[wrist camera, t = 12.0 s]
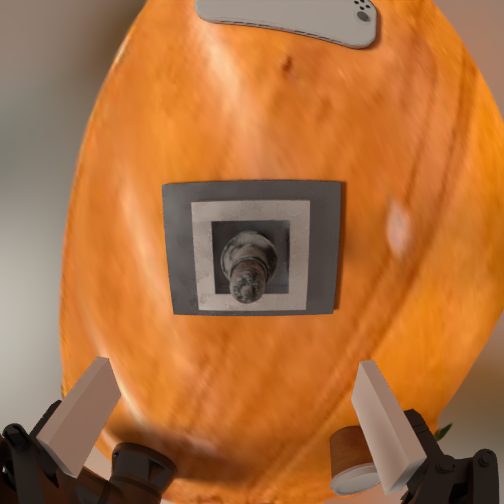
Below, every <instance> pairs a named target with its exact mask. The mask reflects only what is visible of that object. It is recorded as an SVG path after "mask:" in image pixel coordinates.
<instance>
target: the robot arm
mask: <svg viewBox="0 0 504 504" xmlns="http://www.w3.org/2000/svg"><path fill="white" fill-rule="evenodd" d="M120 397H121V392H120V390H119V387H118V384H117V382H116V379H115V376H114V373H113V370H112V367H111V364H110V361H109V358H104V357H96V359H95V360H94V361H93V362H92V364H91V365H90V366H89V367H88V369H87V370H86V371H85V372H84V374H83V375H82V376H81V378H80V379H79V380H78V381H77V383H76V384H75V385H74V387H73V388H72V389H71V390H70V392H69V393H68V394H67V396H66V397H65V398H64V400H63V401H61V400H58V401H56V402H55V403H53V404H52V405H51V406H50V407H49V408H48V410H47V411H46V413H45V414H44V415H43V418H41V419H40V420H39V422H38V423H37V424H36V426H35V427H34V428H33V430H32V431H31V432H30V434H29V435H28V434H27V433H26V431H25V430H24V428H23V427H22V426H21V425H20V424H17V423H16V424H15V423H13V424H10V425H8V426H6V427H5V429H4V430H3V434H2V435H3V436H4V438H3V437H2V436H1V434H0V504H160V502H161V498H162V495H163V494H164V492H165V491H166V490H167V489H168V487H169V486H170V485H171V483H172V482H173V481H174V479H175V477H176V473H177V469H176V466H175V465H174V464H173V463H172V462H171V461H170V460H169V459H167V458H166V457H165V456H163V455H161V454H159V453H157V452H155V451H153V450H151V449H149V448H146V447H143V446H140V445H136V444H131V443H120V444H118V445H116V446H115V448H114V450H113V453H112V471H111V477H110V480H109V481H108V480H106V479H104V478H102V477H101V476H99V475H98V474H96V473H94V472H93V471H91V470H90V469H88V468H87V467H85V466H84V463H85V461H86V459H87V458H88V456H89V454H90V452H91V450H92V448H93V446H94V444H95V442H96V440H97V439H98V437H99V435H100V433H101V431H102V429H103V427H104V426H105V424H106V422H107V420H108V418H109V416H110V415H111V413H112V411H113V409H114V407H115V406H116V404H117V402H118V400H119V399H120ZM351 401H352V404H353V406H354V409H355V412H356V414H357V417H358V419H359V422H360V425H361V428H362V430H363V433H364V436H365V438H366V441H367V444H368V447H369V449H370V452H371V455H372V458H373V461H374V464H375V466H376V469H377V472H378V475H379V478H380V481H381V484H382V487H383V490H384V493H385V495H387V494H390V493H393V492H396V491H400V490H402V488H403V487H404V486H405V485H406V484H407V487H408V489H409V490H408V491H407V492H406V493H405V494H404V495H403V496H402V498H401V500H403V501H402V503H401V504H499V477H498V464H497V457H496V455H495V453H494V452H493V451H491V450H489V449H482V450H479V451H478V452H477V453H476V454H475V455H474V456H473V457H471V458H465V459H454V458H453V457H452V456H449V455H444V454H443V452H442V451H441V449H440V447H439V445H438V444H437V442H436V440H435V438H434V437H433V435H432V433H431V431H429V428H428V426H427V425H426V424H425V421H424V419H423V418H422V416H421V415H420V414H419V413H418V412H416V411H415V410H414V409H410V410H406V411H403V410H402V409H401V407H400V405H399V403H398V401H397V400H396V398H395V396H394V394H393V392H392V391H391V389H390V387H389V385H388V384H387V382H386V380H385V378H384V377H383V375H382V373H381V372H380V370H379V368H378V366H377V365H376V363H375V361H374V360H368V361H360V364H359V368H358V373H357V377H356V381H355V385H354V389H353V393H352V397H351ZM3 467H4V468H5V471H4V472H3Z"/></svg>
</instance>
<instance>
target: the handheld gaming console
mask: <svg viewBox="0 0 504 504" xmlns="http://www.w3.org/2000/svg"><path fill="white" fill-rule="evenodd" d="M194 7H195V10H196V13H197V15H198V16H199V17H200V18H201V19H203V20H205V21H207V22H211V23H222V24H235V25H245V26H254V27H261V28H268V29H274V30H280V31H286V32H291V33H296V34H301V35H305V36H309V37H314V38H318V39H322V40H325V41H329V42H333V43H336V44H339V45H343V46H346V47H349V48H355V49H360V48H365V47H367V46H369V45H370V44H371V43H372V42H373V41H374V39H375V37H376V24H377V12H376V10H375V7H374V5H373V3H372V2H371V1H370V0H196V1H195V6H194Z"/></svg>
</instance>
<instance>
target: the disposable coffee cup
mask: <svg viewBox="0 0 504 504" xmlns="http://www.w3.org/2000/svg"><path fill="white" fill-rule="evenodd" d="M330 450H331V471H332V480H331V483H330V488H331V489H332V490H333V492H334V493H335V494H336V495H341V496H345V495H353V494H357V493H361V492H364V491H366V490H368V489H371V488H372V487H374V486H376V485H377V484H379V483H380V482H381V481H380V478H379V475H378V472H377V469H376V466H375V464H374V461H373V458H372V455H371V452H370V449H369V447H368V444H367V441H366V438H365V436H364V434H363V432H362V430H361V429H360V428H359V427H354V426H353V427H346V428H343V429H340V430H338V431H337V432H335V433H334V434H333V435H332V436H331V438H330Z"/></svg>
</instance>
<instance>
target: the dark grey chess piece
mask: <svg viewBox="0 0 504 504" xmlns="http://www.w3.org/2000/svg"><path fill="white" fill-rule="evenodd" d="M221 267H222V270H223V273H224V275H225V276H226V278H227V279H228V280H229V282H230V292H231V295H232V296H233V298H234V299H235V300H237V301H238V302H240V303H244V304H250V303H254V302H256V301H258V300H259V299H260V298H261V297H262V295H263V294H264V291H265V285H266V284H268V283H269V282H270V281H271V280H272V279H273V278H274V276H275V275H276V273H277V270H278V267H279V257H278V252H277V250H276V248H275V246H274V245H273V244H272V242H271V241H270V239H269V238H268V237H267V236H266V235H265V234H263V233H261V232H259V231H256V230H246V231H242V232H240V233H238V234H236V235H235V236H234V237H233V238H232V239H231V240H230V241H229V242H228V243H227V244H226V246H225V248H224V249H223V251H222V255H221Z"/></svg>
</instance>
